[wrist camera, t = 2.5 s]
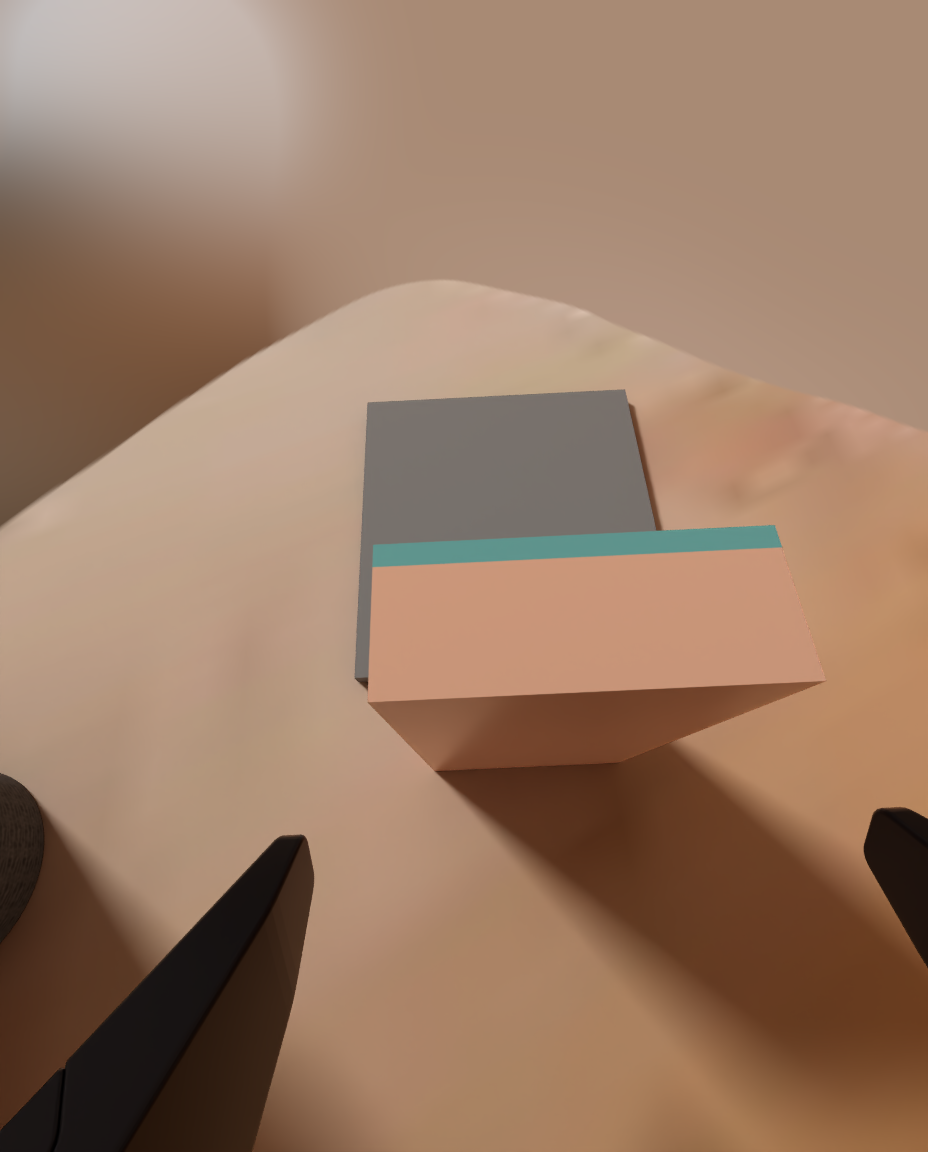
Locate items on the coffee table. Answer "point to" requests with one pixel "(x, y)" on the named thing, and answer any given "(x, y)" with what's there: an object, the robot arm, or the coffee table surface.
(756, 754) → the coffee table surface
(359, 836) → the coffee table surface
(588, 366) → the coffee table surface
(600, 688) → the tile
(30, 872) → the coffee cup
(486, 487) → the mat
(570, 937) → the coffee table surface
